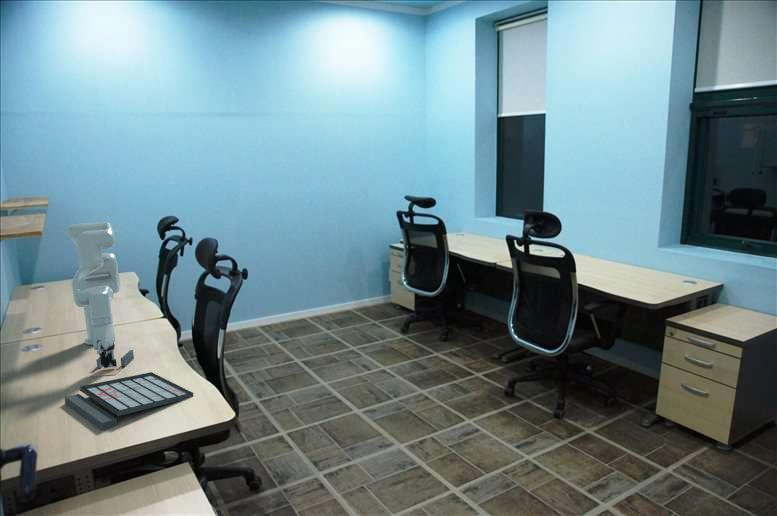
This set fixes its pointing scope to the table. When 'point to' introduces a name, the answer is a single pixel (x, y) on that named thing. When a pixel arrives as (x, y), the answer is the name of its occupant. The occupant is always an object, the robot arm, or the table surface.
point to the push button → (110, 356)
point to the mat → (105, 372)
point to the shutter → (124, 397)
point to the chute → (124, 360)
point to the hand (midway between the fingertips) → (108, 362)
